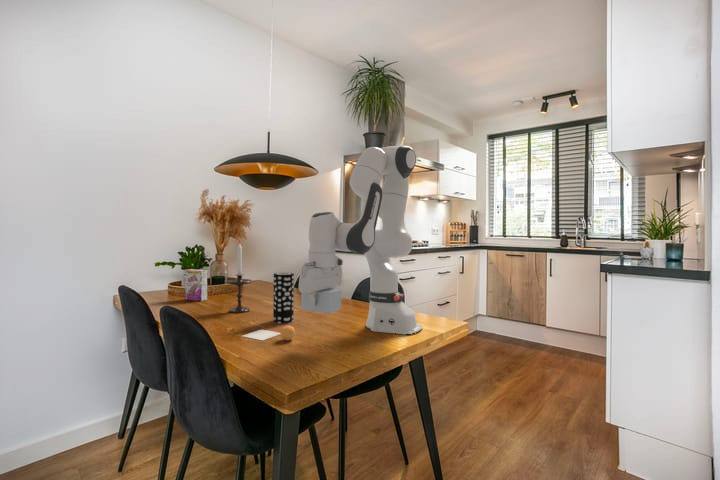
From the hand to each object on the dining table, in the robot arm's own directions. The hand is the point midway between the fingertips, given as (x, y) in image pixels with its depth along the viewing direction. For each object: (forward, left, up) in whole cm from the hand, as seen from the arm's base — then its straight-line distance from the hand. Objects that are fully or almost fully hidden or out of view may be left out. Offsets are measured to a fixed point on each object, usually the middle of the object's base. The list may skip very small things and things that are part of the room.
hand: (321, 303), depth 119 cm
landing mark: (+26, 0, -14) cm, 30 cm away
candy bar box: (+103, -31, -15) cm, 109 cm away
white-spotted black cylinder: (+33, -20, -15) cm, 41 cm away
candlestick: (+63, -24, -15) cm, 69 cm away
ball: (+14, 0, -12) cm, 18 cm away
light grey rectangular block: (0, 0, -2) cm, 2 cm away
